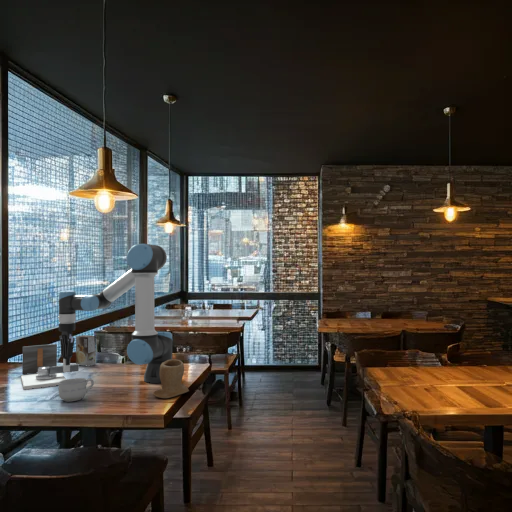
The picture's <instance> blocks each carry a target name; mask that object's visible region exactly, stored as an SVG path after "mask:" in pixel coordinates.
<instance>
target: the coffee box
mask: <svg viewBox="0 0 512 512" xmlns="http://www.w3.org/2000/svg"><path fill="white" fill-rule="evenodd" d="M96 341H97V338H96V335H89V334H87V335H86V334H85V335H84V334H83V335H78V336H75V364H79V365H87V366H86V367H90V366H89V365H91V366H93V365H96V363H97V361H96V357H97V356H96V355H97V353H96V352H97V351H96V349H97V348H96V347H97V346H96Z"/></svg>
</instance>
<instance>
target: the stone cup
mask: <svg viewBox="0 0 512 512" xmlns="http://www.w3.org/2000/svg"><path fill="white" fill-rule="evenodd" d="M184 374H185V363H184V362H183V361H182V360H180V359H178V358H177V359H176V358H175V359H173V358H172V359H171V360H167V361H165V362H163V363H162V364H161V365H160V372H159V375H160V380H161V383H160V384H161V389H158V390H155V391H154V392H153V396H155V397H156V398H161V399H170V398H174V397H176V396H181V395H183V394H185V393H188V392H190V390H189V388H188V387H187V386H186V384H184V383H182V381H183V376H184Z"/></svg>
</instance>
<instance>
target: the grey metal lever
mask: <svg viewBox="0 0 512 512" xmlns="http://www.w3.org/2000/svg"><path fill="white" fill-rule="evenodd" d="M74 372H79V365H78V364H76V363H75V364H73V363H72V364H70V372H69V373H74ZM57 373H62V374H63V373H66V374H67V372H63V364H62V365H57V366H52V367H39V368H38V373H37V374H38V375H37V376H36V379H39V380H45V379H52V378H55V377H57Z"/></svg>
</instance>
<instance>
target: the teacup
mask: <svg viewBox="0 0 512 512" xmlns="http://www.w3.org/2000/svg"><path fill="white" fill-rule="evenodd" d="M88 382H90V385H89V387H87V384H88ZM58 384H59V386H58V396H59V398H60V399H61V400H62V401H64V402H65V403H69V402H77V401H80V400H82V399H83V398H84V397H85V396H86V394H87V393H88V391H89V390H91V389H92V388H93V387H94V385H95V381H94V379H92V378H84V377H83V378H82V377H75V378H68V379H67V378H66V380H63V381H60V382H58Z"/></svg>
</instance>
